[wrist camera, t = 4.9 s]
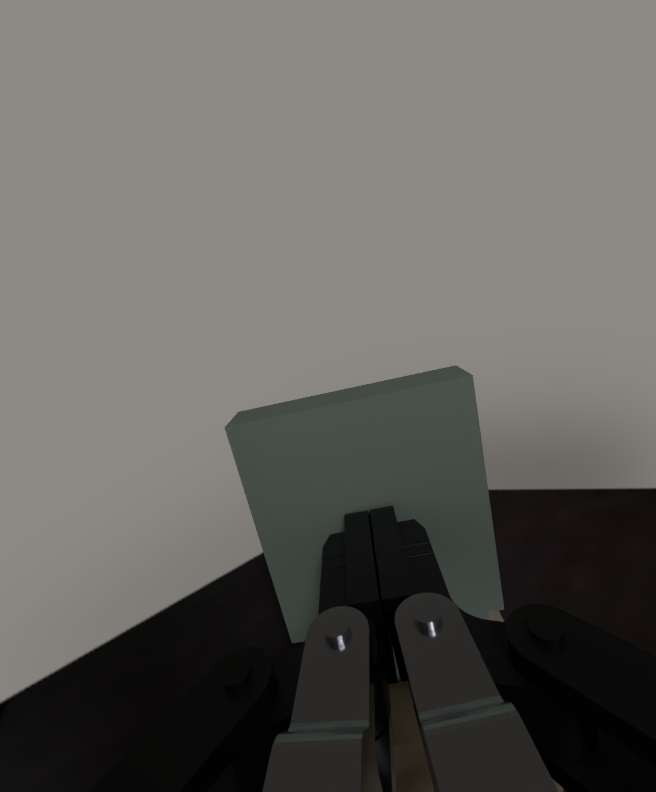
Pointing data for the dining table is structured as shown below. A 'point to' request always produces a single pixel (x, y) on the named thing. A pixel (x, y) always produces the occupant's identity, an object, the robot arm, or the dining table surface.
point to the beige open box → (413, 739)
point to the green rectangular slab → (370, 482)
